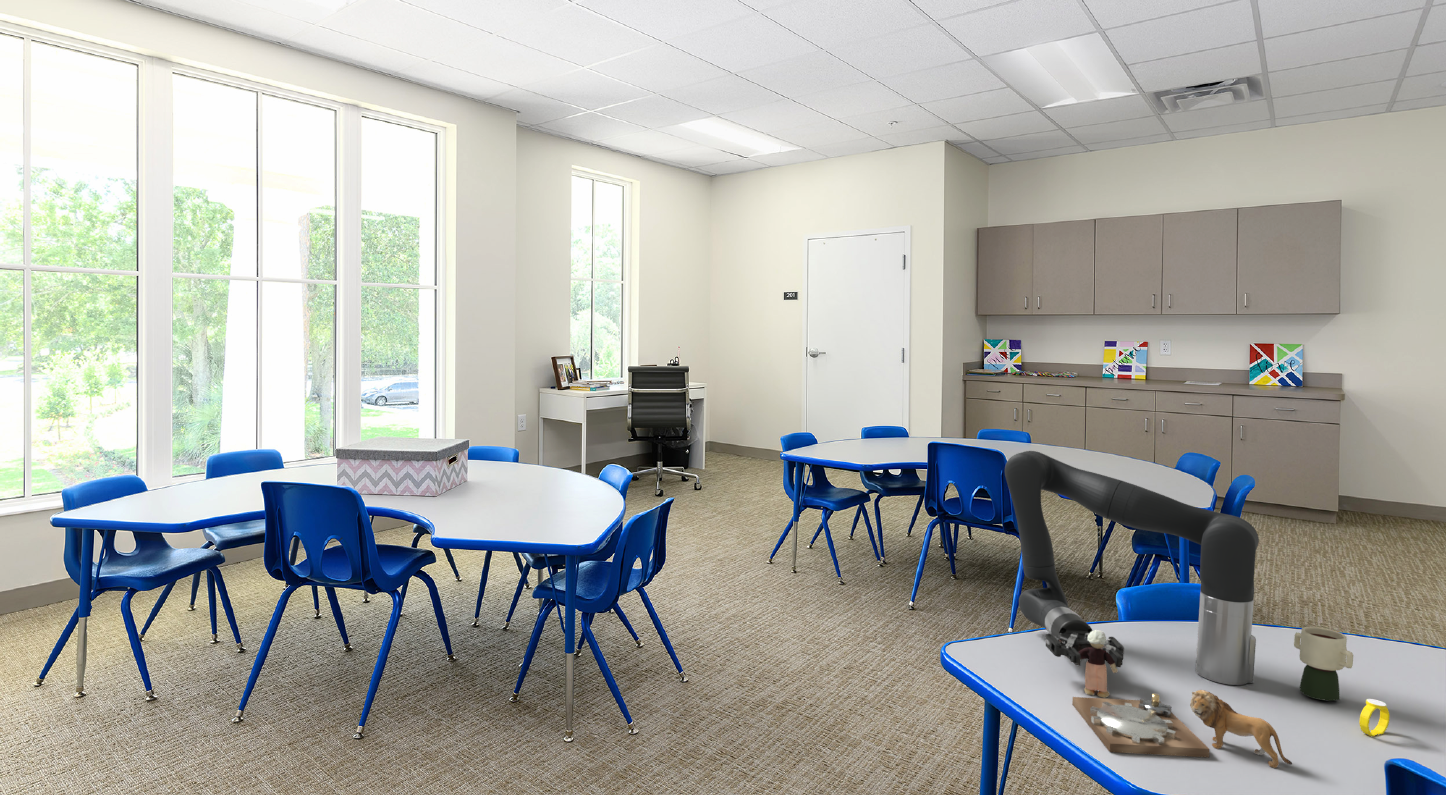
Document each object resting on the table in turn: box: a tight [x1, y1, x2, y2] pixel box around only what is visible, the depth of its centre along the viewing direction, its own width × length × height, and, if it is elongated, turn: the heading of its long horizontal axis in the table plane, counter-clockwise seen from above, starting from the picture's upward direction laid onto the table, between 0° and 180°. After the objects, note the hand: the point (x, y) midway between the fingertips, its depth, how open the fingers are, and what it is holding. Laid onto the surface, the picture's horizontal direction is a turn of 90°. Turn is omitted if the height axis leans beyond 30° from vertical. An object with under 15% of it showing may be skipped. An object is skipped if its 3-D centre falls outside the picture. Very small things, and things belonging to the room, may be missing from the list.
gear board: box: [1071, 696, 1210, 758], centre depth 137 cm, size 16×17×2 cm
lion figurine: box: [1189, 689, 1293, 769], centre depth 130 cm, size 15×5×9 cm, turn 52°
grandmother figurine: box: [1078, 629, 1118, 699], centre depth 150 cm, size 8×4×13 cm, turn 71°
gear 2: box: [1139, 692, 1173, 718], centre depth 141 cm, size 6×5×3 cm
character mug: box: [1293, 626, 1354, 701], centre depth 150 cm, size 11×7×13 cm, turn 17°
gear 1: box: [1090, 702, 1176, 745], centre depth 135 cm, size 13×13×1 cm
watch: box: [1358, 698, 1391, 737], centre depth 136 cm, size 6×3×6 cm, turn 110°
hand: (1099, 661), depth 148 cm, fingers closed on grandmother figurine, 7 cm apart
